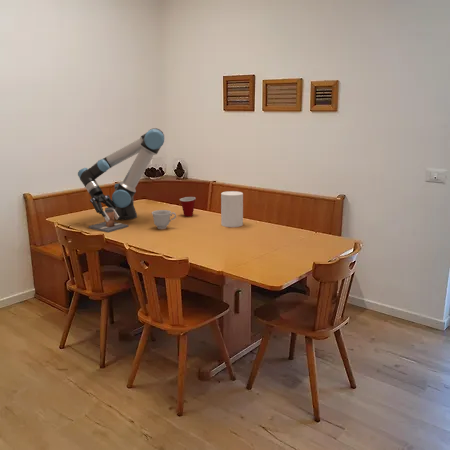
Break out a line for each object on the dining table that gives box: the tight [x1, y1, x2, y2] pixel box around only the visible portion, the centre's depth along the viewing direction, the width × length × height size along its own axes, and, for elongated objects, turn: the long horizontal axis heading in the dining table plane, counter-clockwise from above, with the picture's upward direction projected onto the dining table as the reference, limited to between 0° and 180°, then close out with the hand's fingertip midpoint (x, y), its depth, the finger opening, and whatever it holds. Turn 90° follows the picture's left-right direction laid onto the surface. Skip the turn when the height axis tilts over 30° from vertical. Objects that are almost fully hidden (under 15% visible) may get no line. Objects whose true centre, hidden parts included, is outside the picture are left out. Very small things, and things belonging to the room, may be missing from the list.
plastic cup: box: [179, 196, 196, 218], centre depth 328 cm, size 11×11×12 cm
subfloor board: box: [88, 221, 129, 233], centre depth 300 cm, size 16×18×1 cm
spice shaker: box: [104, 207, 115, 227], centre depth 297 cm, size 5×5×11 cm
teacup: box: [151, 209, 177, 230], centre depth 297 cm, size 12×15×10 cm
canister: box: [220, 190, 244, 228], centre depth 304 cm, size 14×14×20 cm
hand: (113, 219), depth 295 cm, fingers open, 7 cm apart
